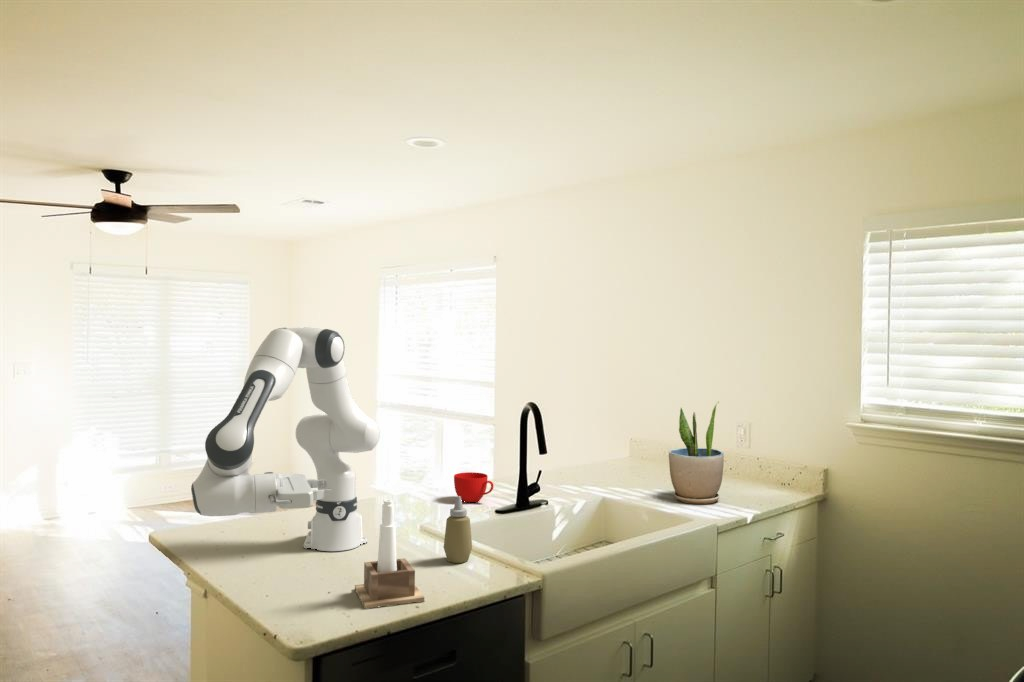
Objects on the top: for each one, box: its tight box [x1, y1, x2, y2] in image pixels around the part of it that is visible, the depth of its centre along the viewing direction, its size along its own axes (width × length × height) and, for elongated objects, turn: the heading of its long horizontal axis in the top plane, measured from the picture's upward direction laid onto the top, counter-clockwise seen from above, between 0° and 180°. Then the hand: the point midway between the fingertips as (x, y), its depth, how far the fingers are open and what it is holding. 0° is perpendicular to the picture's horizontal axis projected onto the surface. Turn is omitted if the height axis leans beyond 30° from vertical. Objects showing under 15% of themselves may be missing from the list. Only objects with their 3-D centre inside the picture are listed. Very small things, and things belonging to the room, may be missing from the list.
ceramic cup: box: [453, 471, 494, 503], centre depth 276 cm, size 13×17×10 cm
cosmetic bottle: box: [377, 499, 397, 573], centre depth 174 cm, size 6×6×22 cm
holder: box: [354, 558, 425, 609], centre depth 174 cm, size 14×14×7 cm
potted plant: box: [668, 401, 725, 505], centre depth 285 cm, size 21×22×40 cm
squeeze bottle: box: [443, 495, 473, 564], centre depth 203 cm, size 8×8×18 cm
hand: (328, 488), depth 172 cm, fingers open, 8 cm apart
